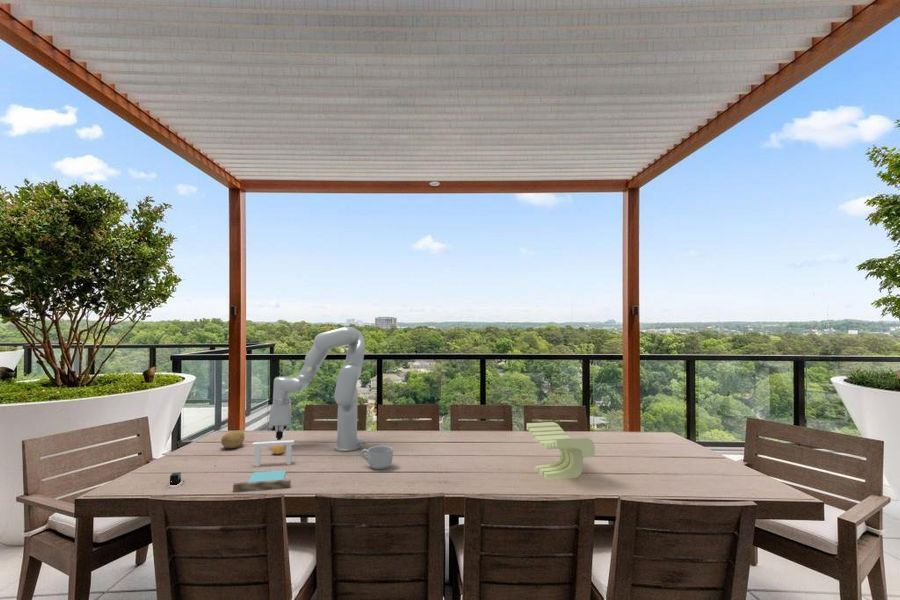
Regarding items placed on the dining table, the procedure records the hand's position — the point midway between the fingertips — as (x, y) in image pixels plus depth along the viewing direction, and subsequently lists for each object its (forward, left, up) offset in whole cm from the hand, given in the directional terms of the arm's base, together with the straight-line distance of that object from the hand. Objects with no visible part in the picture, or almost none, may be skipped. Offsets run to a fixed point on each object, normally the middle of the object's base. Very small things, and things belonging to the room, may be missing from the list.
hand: (279, 439), depth 233 cm
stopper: (-1, +58, -5) cm, 58 cm away
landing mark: (-1, +44, -5) cm, 44 cm away
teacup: (-45, +41, -5) cm, 61 cm away
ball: (-1, +10, -2) cm, 10 cm away
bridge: (-1, +27, -5) cm, 27 cm away
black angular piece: (+33, +45, -5) cm, 56 cm away
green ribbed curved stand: (-118, +66, -5) cm, 135 cm away
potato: (+22, -7, -5) cm, 24 cm away
